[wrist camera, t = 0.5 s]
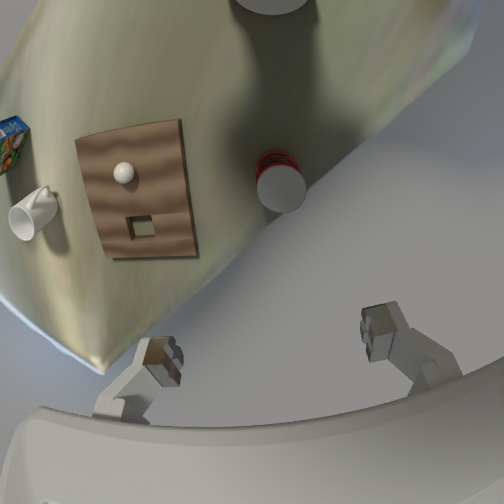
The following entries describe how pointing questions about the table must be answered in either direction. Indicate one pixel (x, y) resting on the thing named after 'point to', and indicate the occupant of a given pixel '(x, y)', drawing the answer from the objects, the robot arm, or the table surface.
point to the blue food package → (11, 141)
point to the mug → (33, 213)
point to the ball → (123, 172)
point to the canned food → (279, 182)
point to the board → (139, 189)
